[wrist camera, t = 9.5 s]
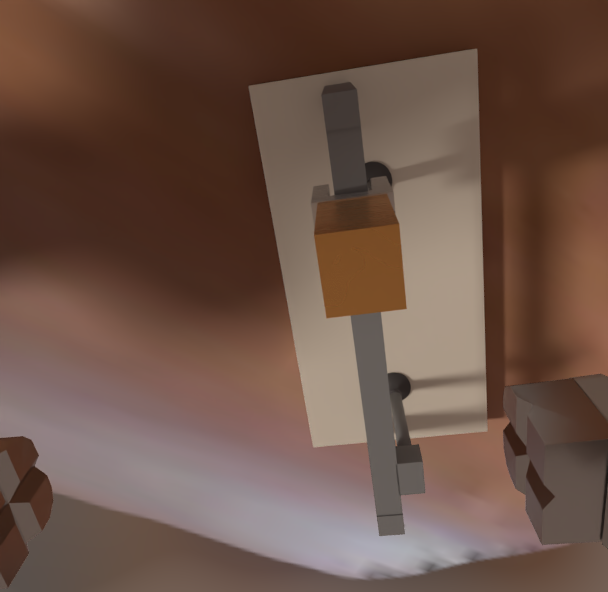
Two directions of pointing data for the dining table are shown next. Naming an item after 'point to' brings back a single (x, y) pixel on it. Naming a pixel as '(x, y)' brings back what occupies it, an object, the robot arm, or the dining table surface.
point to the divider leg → (359, 250)
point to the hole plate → (415, 254)
